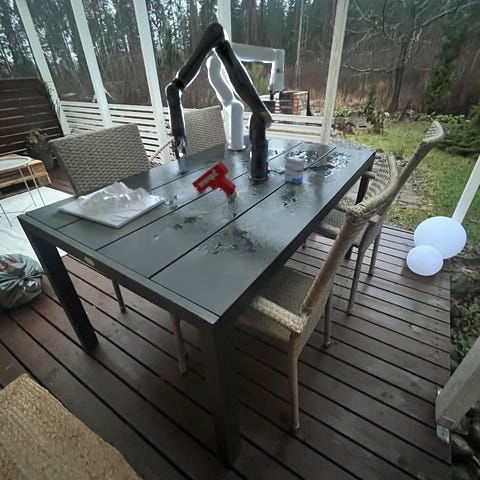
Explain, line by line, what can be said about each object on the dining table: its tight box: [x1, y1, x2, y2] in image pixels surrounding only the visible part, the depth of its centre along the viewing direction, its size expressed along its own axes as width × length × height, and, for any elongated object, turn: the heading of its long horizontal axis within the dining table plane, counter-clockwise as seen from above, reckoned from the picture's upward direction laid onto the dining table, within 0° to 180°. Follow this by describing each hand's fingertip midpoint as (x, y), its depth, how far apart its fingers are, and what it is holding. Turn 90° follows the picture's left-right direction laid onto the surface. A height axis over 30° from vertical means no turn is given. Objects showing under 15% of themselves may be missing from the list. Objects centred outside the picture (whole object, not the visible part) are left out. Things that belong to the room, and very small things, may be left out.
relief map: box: [57, 180, 166, 229], centre depth 118 cm, size 27×35×5 cm
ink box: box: [284, 156, 306, 185], centre depth 140 cm, size 8×5×12 cm, turn 47°
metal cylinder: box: [176, 153, 188, 174], centre depth 155 cm, size 5×5×10 cm
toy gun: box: [191, 161, 237, 197], centre depth 128 cm, size 18×4×15 cm
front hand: (181, 157), depth 153 cm, fingers open, 8 cm apart
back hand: (276, 100), depth 192 cm, fingers open, 9 cm apart
